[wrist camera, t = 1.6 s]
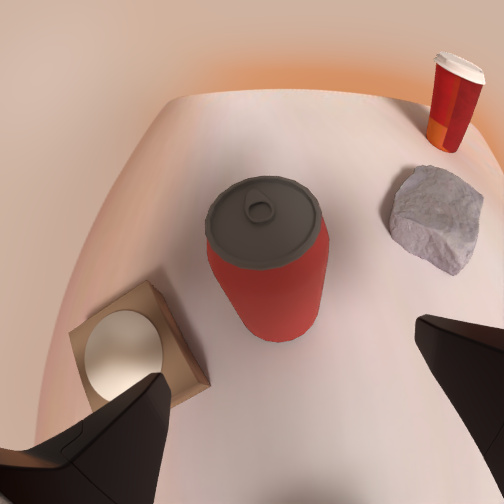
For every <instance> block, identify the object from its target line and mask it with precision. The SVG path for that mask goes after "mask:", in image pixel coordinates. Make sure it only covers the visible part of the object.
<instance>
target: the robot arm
mask: <svg viewBox="0 0 504 504" xmlns="http://www.w3.org/2000/svg"><path fill="white" fill-rule="evenodd" d="M415 342H416V345H417V346H418V348H419V350H420V352H421V354H422V356H423V357H424V359H425V361H426V363H427V365H428V367H429V369H430V371H431V372H432V374H433V376H434V377H435V379H436V380H437V382H438V383H439V385H440V386H441V388H442V389H443V391H444V392H445V394H446V395H447V397H448V398H449V400H450V401H451V403H452V405H453V406H454V408H455V409H456V411H457V413H458V414H459V416H460V417H461V419H462V421H463V422H464V424H465V426H466V427H467V429H468V431H469V432H470V434H471V436H472V438H473V439H474V441H475V443H476V445H477V446H478V448H479V450H480V452H481V454H482V456H484V460H485V462H486V463H487V465H488V467H489V469H490V471H491V473H492V475H493V477H494V479H495V481H496V483H497V485H498V488H499V490H500V492H501V494H502V496H503V498H504V329H500V328H495V327H489V326H484V325H479V324H473V323H468V322H463V321H458V320H453V319H448V318H443V317H438V316H433V315H428V314H425V315H423V316H420V317H418V318H417V319H416V323H415ZM171 397H172V393H171V389H170V387H169V385H168V383H167V381H166V379H165V377H164V375H163V374H162V373H161V372H156V373H150V374H148V375H147V376H146V377H144V378H143V379H141V380H140V381H139V382H137V383H136V384H134V385H133V386H131V387H130V388H129V389H127V390H126V391H124V392H123V393H121V394H120V395H118V396H117V397H116V398H114V399H113V400H111V401H110V402H108V403H107V404H105V405H104V406H102V407H101V408H99V409H98V410H96V411H95V412H93V413H92V414H90V415H89V416H87V417H86V418H84V420H81V421H80V422H78V423H77V424H75V425H73V426H72V427H70V428H69V429H67V430H65V431H64V432H62V433H60V434H58V435H56V436H54V437H52V438H51V439H49V440H47V441H45V442H43V443H41V444H39V445H37V446H35V447H33V448H30V449H28V450H23V451H14V450H8V449H3V448H0V504H153V503H154V497H155V492H156V487H157V481H158V476H159V471H160V466H161V461H162V457H163V452H164V447H165V442H166V438H167V433H168V427H169V417H170V407H171Z"/></svg>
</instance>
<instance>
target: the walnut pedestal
mask: <svg viewBox="0 0 504 504" xmlns="http://www.w3.org/2000/svg"><path fill="white" fill-rule="evenodd" d="M69 337H70V341H71V345H72V349H73V353H74V357H75V361H76V364H77V367H78V371H79V374H80V377H81V381H82V384H83V387H84V390H85V393H86V395H87V398H88V401H89V404H90V406H91V409H92V412H95V411H96V410H98V409H99V408H101V407H102V406H104V405H105V404H107V403H108V402H110V401H111V400H113V399H114V398H116V397H117V396H118V395H120V394H121V393H123V392H124V391H126V390H127V389H129V388H130V387H131V386H133V385H134V384H136V383H137V382H139V381H140V380H141V379H143V378H144V377H146V376H147V375H148V374H150V373H156V372H161V373H162V374H163V375H164V377H165V379H166V381H167V383H168V385H169V387H170V389H171V393H172V397H171V407H170V408H172V407H174V406H176V405H178V404H180V403H182V402H183V401H185V400H187V399H189V398H191V397H193V396H194V395H196V394H198V393H200V392H202V391H203V390H205V389H207V388H209V387H210V386H211V385H210V384H209V382H208V380H207V379H206V377H205V375H204V374H203V372H202V370H201V369H200V367H199V365H198V363H197V362H196V360H195V358H194V356H193V354H192V353H191V351H190V349H189V347H188V345H187V343H186V342H185V340H184V338H183V336H182V334H181V332H180V330H179V328H178V326H177V324H176V322H175V320H174V318H173V316H172V314H171V312H170V310H169V308H168V306H167V304H166V302H165V300H164V298H163V296H162V294H161V293H160V292H159V291H158V290H157V289H156V288H155V287H154V286H153V285H152V284H151V283H150V282H149V281H148V280H147V281H145V282H143V283H142V284H140V285H139V286H137V287H136V288H134V289H133V290H131V291H130V292H128V293H127V294H125V295H124V296H122V297H121V298H119V299H118V300H116V301H115V302H113V303H112V304H110V305H109V306H107V307H106V308H104V309H103V310H101V311H100V312H98V313H97V314H96V315H94V316H93V317H91V318H90V319H88V320H87V321H85V322H84V323H82V324H81V325H80V326H78V327H77V328H75V329H74V330H72V331H71V332H70V333H69Z"/></svg>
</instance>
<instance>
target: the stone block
mask: <svg viewBox="0 0 504 504" xmlns="http://www.w3.org/2000/svg"><path fill="white" fill-rule="evenodd" d="M483 200H484V197H483V196H482V195H481V194H480V193H478V192H477V191H476V190H475V189H474V188H473V187H471V186H470V185H469V184H468V183H466V182H464V181H463V180H462V179H461V178H459V177H458V176H456V175H454V174H453V173H450V172H449V171H447V170H445V169H441V168H438V167H434V166H431V165H429V166H424V165H422V166H418V167H416V168H415V170H414V173H413V174H412V175H410V176H409V177H408V178H407V179H406V180H405V181H404V183H403V184H402V185H401V187H400V189H399V190H398V191H397V192H396V194H395V197H394V203H393V207H392V213H391V216H390V219H389V226H390V233H391V237H392V239H393V240H394V241H395V242H397V243H398V244H400V245H401V246H402V247H403V248H404V249H405V250H406V251H408V252H409V253H411V254H413V255H416V256H418V257H420V258H421V259H425V260H427V261H429V262H431V263H432V264H433V265H434V266H436V267H437V268H439V269H442V270H444V271H446V272H447V273H449V274H450V275H453V276H454V275H457V274H458V273H459V272H460V271H461V270H462V269H463V268H464V267H465V265H466V264H467V263H468V261H469V259H470V258H471V256H472V255H473V251H474V248H475V245H476V242H477V237H478V231H479V216H480V212H481V208H482V205H483Z"/></svg>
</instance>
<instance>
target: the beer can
mask: <svg viewBox="0 0 504 504" xmlns="http://www.w3.org/2000/svg"><path fill="white" fill-rule="evenodd" d="M205 234H206V237H207V256H208V261H209V264H210V266H211V268H212V271H213V273H214V275H215V277H216V279H217V281H218V282H219V284H220V286H221V287H222V289H223V290H224V292H225V294H226V295H227V297H228V299H229V300H230V302H231V304H232V305H233V307H234V308H235V310H236V312H237V313H238V315H239V317H240V318H241V320H242V321H243V323H244V324H245V326H246V327H247V328H248V329H249V330H250V331H251V332H252V333H253V334H254V335H255V336H257V337H259V338H261V339H263V340H265V341H272V342H284V341H290V340H293V339H295V338H297V337H299V336H301V335H303V334H304V333H305V332H306V331H307V330H308V329H309V328H310V327H311V326H312V325H313V323H314V321H315V319H316V317H317V315H318V310H319V305H320V300H321V295H322V290H323V284H324V278H325V273H326V267H327V260H328V252H329V236H328V232H327V229H326V226H325V222H324V220H323V217H322V212H321V209H320V206H319V203H318V201H317V199H316V198H315V197H314V195H313V194H312V193H311V192H310V191H309V189H308V188H306V187H304V186H303V185H301V184H299V183H298V182H296V181H294V180H290V179H287V178H283V177H280V176H259V177H254V178H248V179H245V180H243V181H241V182H238V183H236V184H234V185H232V186H231V187H229V188H228V189H227V190H225V191H224V192H222V193H221V194H220V195H219V196H218V197H217V199H216V200H215V201H214V202H213V204H212V205H211V206H210V209H209V211H208V214H207V217H206V219H205Z"/></svg>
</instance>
